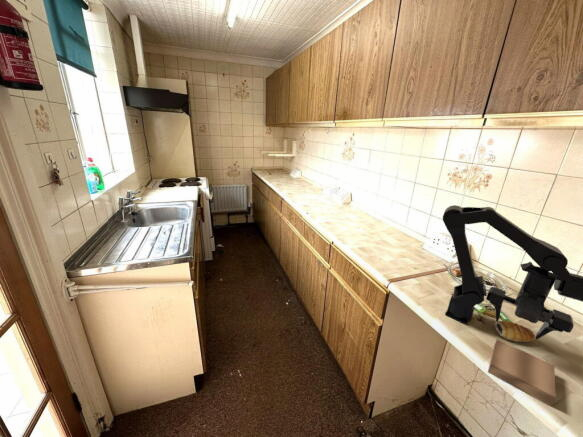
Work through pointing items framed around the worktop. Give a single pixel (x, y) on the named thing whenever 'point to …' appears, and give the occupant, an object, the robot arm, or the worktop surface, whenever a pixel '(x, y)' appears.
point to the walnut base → (523, 371)
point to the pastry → (514, 331)
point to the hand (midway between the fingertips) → (516, 329)
